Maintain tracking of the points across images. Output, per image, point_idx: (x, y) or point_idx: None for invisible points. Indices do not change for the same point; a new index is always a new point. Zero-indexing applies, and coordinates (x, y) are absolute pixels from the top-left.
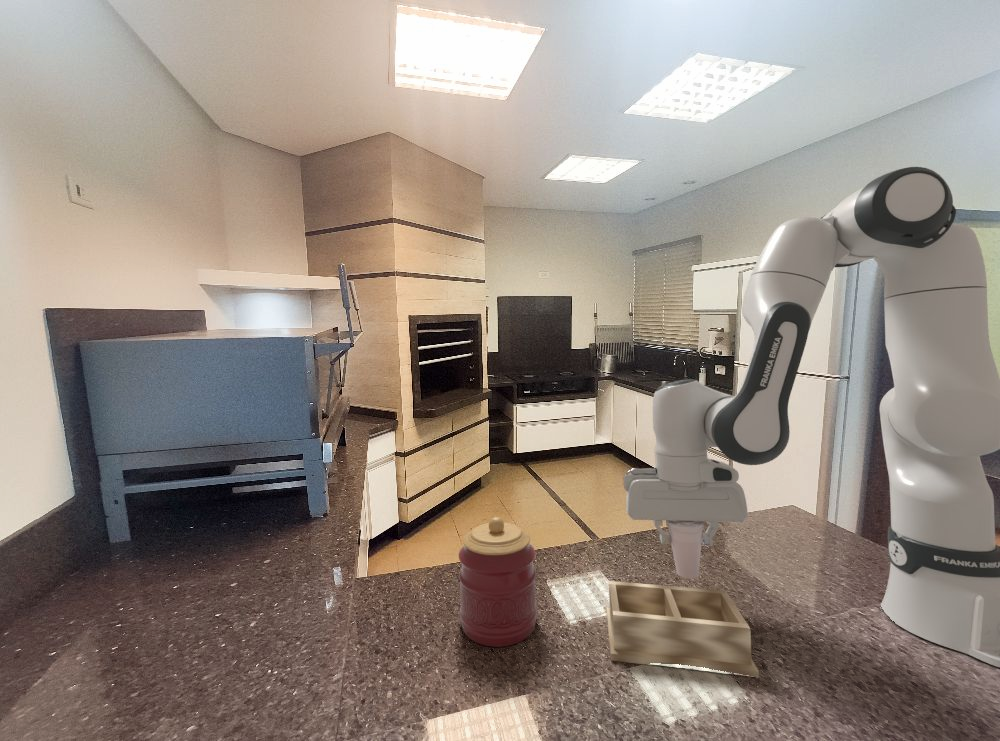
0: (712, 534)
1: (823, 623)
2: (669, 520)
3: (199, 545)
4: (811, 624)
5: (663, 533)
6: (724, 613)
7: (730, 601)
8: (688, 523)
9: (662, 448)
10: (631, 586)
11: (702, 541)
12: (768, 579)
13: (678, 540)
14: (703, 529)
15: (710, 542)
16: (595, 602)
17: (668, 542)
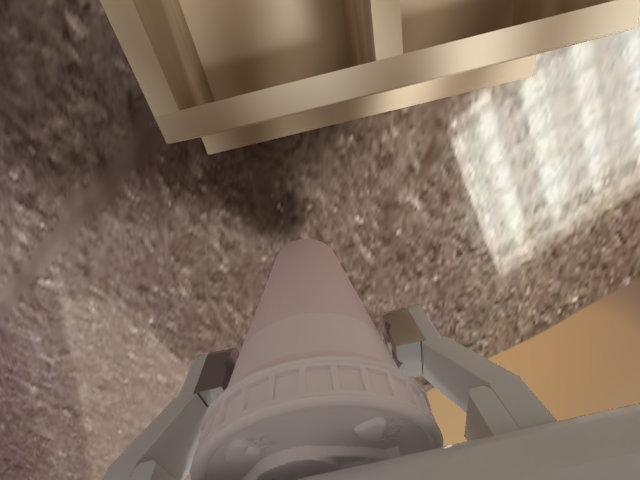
0: (172, 408)
1: (27, 243)
2: (448, 446)
3: None
4: (47, 229)
5: (434, 347)
6: (187, 75)
7: (131, 46)
8: (293, 453)
9: None
10: (539, 21)
11: None
12: (155, 360)
13: (350, 319)
14: (201, 425)
15: (201, 364)
16: (540, 121)
17: (391, 314)
